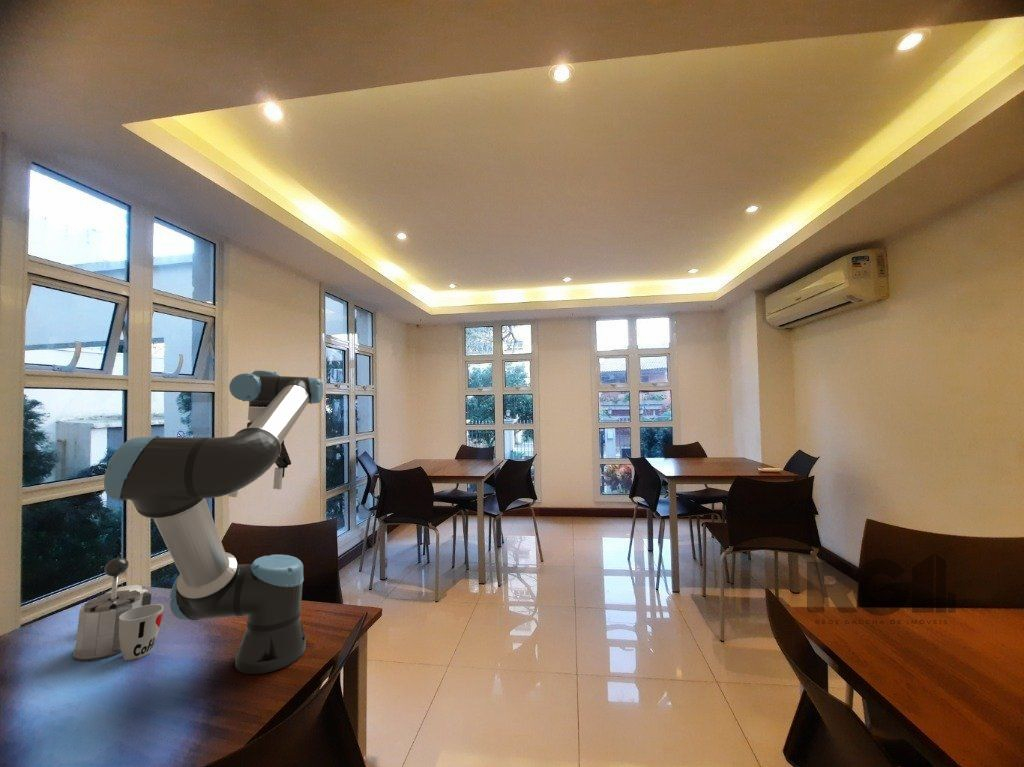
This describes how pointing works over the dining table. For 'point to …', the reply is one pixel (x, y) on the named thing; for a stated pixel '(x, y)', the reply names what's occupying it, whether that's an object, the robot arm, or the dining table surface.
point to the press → (104, 624)
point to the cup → (139, 630)
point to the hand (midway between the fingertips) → (256, 492)
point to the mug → (131, 589)
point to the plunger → (116, 573)
